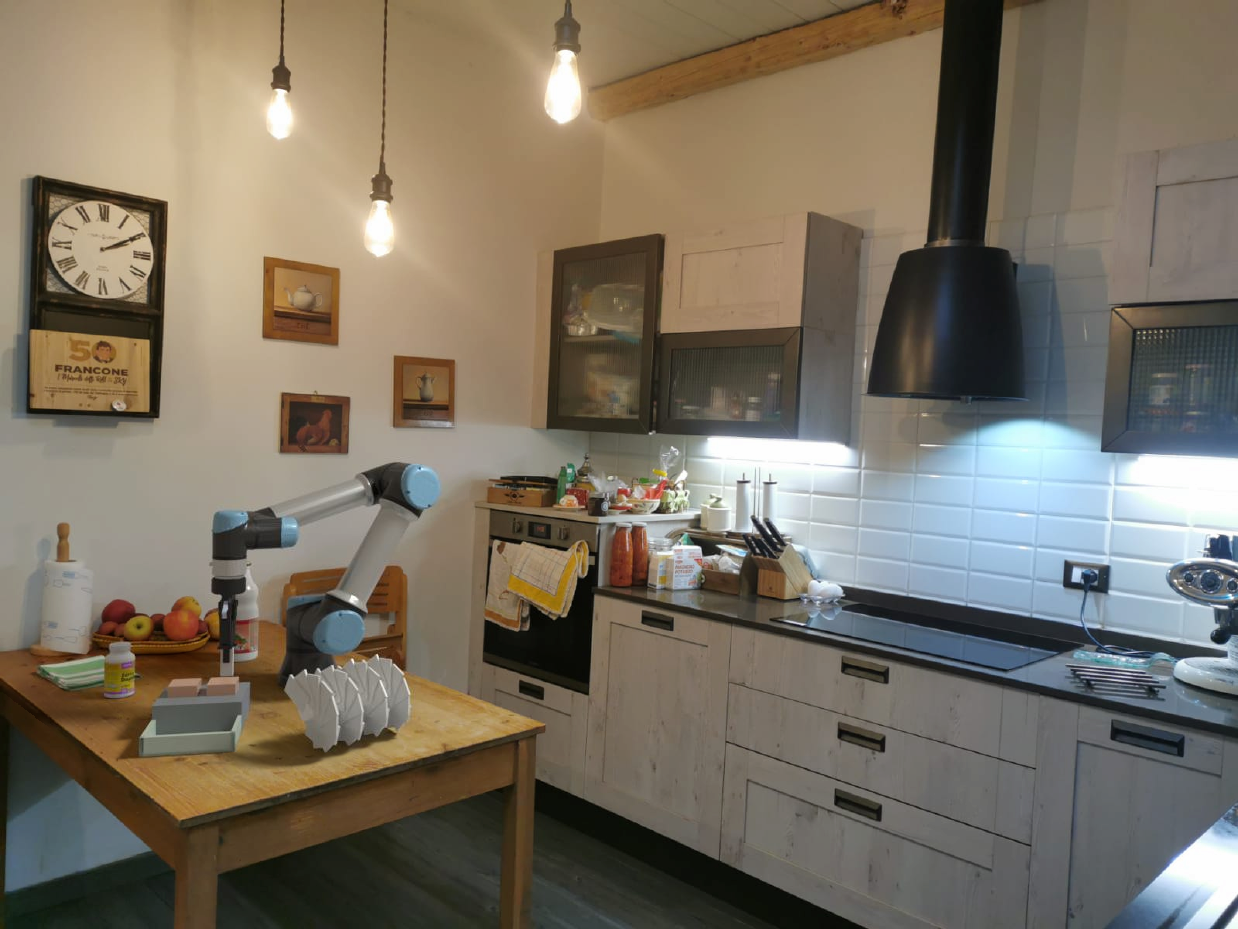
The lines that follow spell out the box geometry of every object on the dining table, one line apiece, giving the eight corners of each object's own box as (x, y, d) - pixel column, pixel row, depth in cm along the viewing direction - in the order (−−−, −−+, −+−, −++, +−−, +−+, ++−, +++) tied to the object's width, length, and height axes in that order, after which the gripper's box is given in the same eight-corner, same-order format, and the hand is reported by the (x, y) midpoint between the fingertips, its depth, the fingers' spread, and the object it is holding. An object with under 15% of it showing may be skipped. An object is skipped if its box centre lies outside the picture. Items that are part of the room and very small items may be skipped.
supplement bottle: (121, 700, 220) (121, 648, 219) (97, 698, 221) (97, 645, 220) (140, 692, 226) (141, 641, 226) (117, 690, 227) (118, 639, 227)
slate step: (249, 711, 215) (250, 682, 215) (241, 733, 200) (241, 701, 200) (166, 715, 210) (166, 685, 210) (151, 738, 195) (152, 706, 195)
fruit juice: (264, 658, 262) (266, 562, 260) (233, 664, 254) (234, 565, 253) (247, 652, 267) (248, 558, 266) (216, 658, 260) (217, 561, 259)
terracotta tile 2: (201, 688, 208) (201, 678, 208) (196, 696, 202) (197, 685, 202) (172, 690, 206) (173, 679, 206) (167, 698, 201) (167, 686, 201)
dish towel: (66, 694, 224) (67, 683, 224) (33, 675, 239) (33, 665, 239) (141, 680, 238) (142, 670, 238) (105, 663, 253) (105, 653, 253)
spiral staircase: (408, 748, 206) (312, 774, 186) (367, 700, 215) (271, 719, 195) (436, 683, 201) (340, 702, 181) (392, 636, 210) (297, 650, 191)
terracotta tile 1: (238, 687, 210) (239, 676, 210) (235, 695, 205) (235, 684, 204) (210, 688, 209) (211, 677, 209) (206, 696, 203) (206, 685, 203)
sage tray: (241, 733, 200) (241, 715, 200) (234, 751, 189) (234, 732, 189) (151, 738, 195) (151, 719, 195) (139, 757, 184) (139, 738, 184)
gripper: (216, 571, 218) (214, 668, 219) (206, 581, 205) (204, 683, 206) (249, 571, 220) (247, 667, 221) (242, 580, 207) (239, 682, 208)
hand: (226, 675), depth 214 cm, fingers closed
